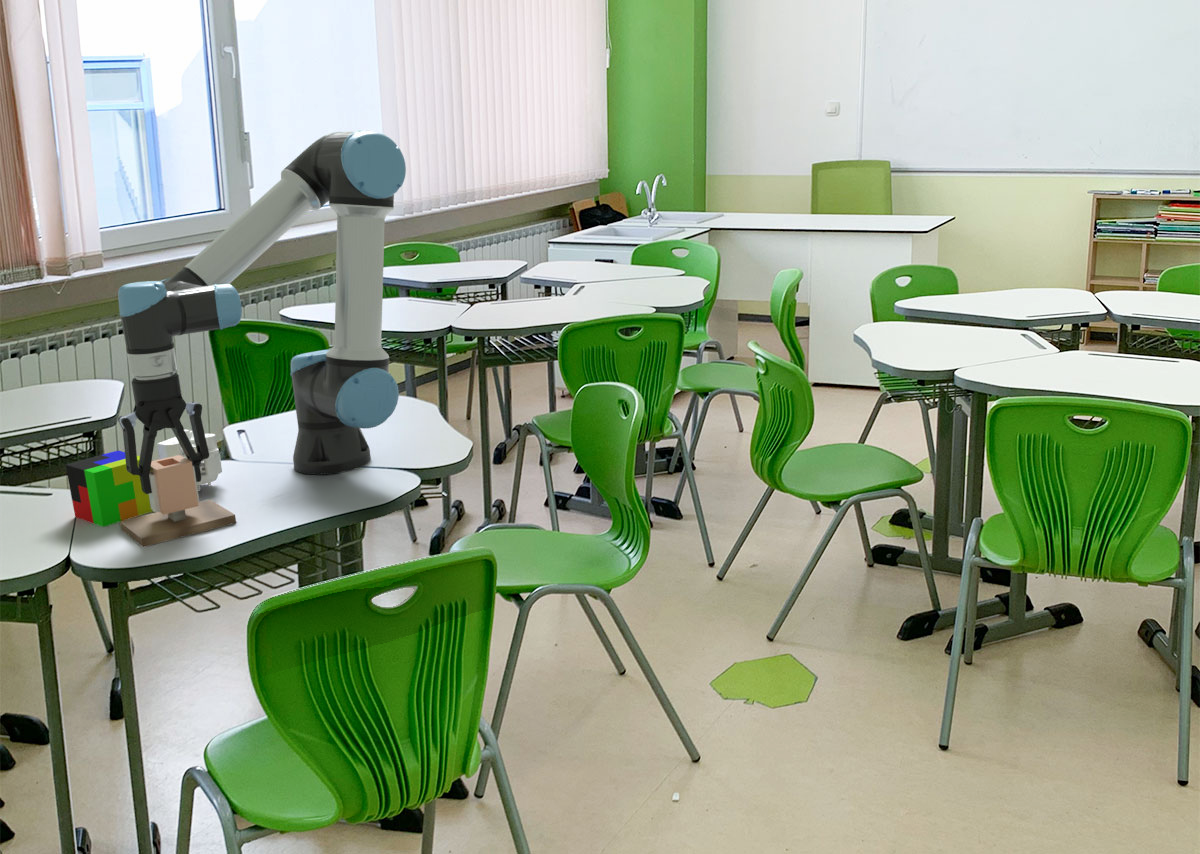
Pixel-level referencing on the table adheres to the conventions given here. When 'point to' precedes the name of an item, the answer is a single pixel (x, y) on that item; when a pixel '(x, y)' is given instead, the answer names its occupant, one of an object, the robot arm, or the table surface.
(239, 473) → the table surface
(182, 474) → the peach block with hole
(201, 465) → the mechanical part
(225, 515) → the shaft plate
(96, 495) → the puzzle toy
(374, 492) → the table surface
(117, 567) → the table surface
